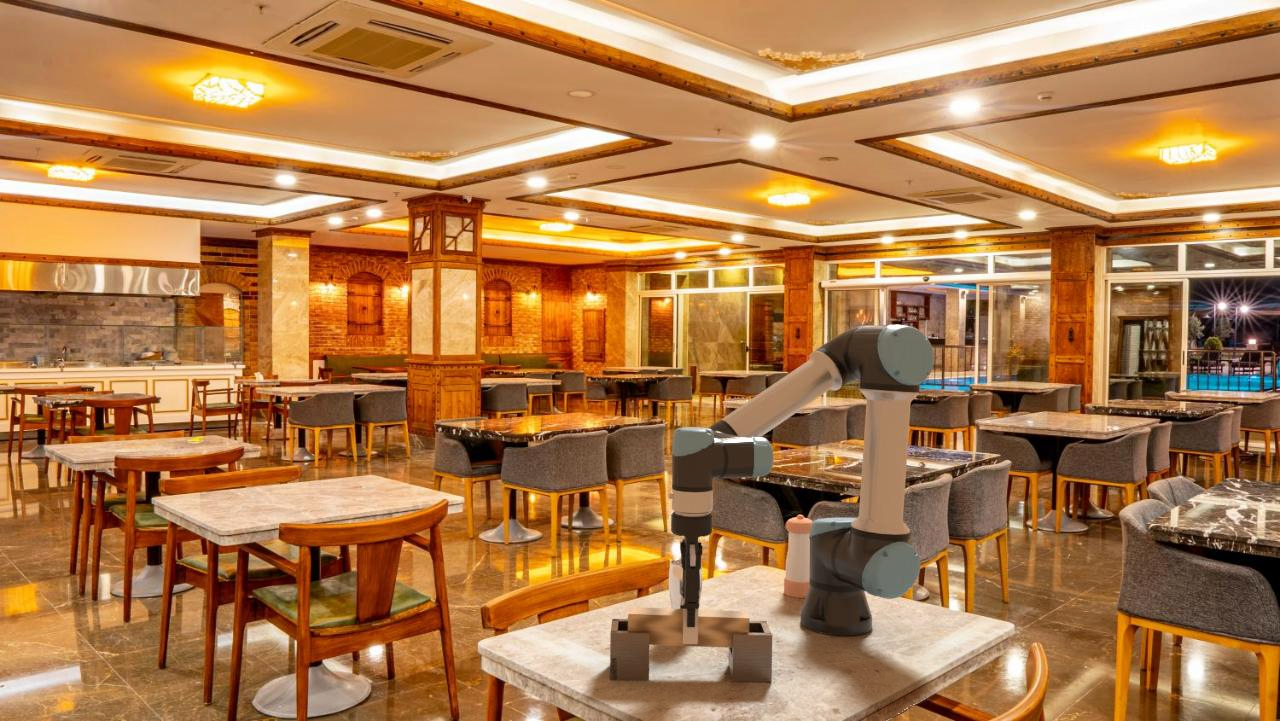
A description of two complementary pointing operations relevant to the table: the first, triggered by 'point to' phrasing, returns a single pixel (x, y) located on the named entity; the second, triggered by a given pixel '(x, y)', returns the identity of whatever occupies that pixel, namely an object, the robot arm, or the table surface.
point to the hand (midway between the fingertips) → (689, 638)
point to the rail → (669, 626)
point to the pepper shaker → (798, 557)
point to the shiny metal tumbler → (678, 583)
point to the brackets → (745, 656)
